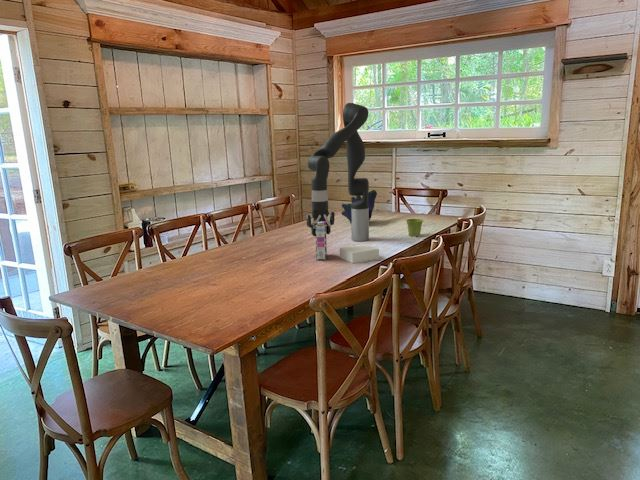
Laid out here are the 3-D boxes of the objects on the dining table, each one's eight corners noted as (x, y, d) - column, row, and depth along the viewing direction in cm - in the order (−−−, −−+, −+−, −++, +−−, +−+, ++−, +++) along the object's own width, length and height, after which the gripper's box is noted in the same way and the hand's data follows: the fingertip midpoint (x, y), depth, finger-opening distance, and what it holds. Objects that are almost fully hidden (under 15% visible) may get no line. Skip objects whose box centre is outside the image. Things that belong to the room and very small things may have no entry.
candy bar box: (327, 260, 217) (325, 225, 214) (316, 260, 218) (314, 225, 214) (327, 254, 228) (326, 220, 225) (317, 254, 229) (315, 221, 225)
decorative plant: (349, 240, 297) (347, 219, 324) (387, 224, 292) (382, 204, 318) (335, 213, 288) (334, 194, 315) (374, 196, 283) (370, 178, 309)
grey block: (339, 258, 222) (339, 247, 220) (365, 254, 227) (365, 243, 226) (352, 264, 211) (352, 253, 210) (379, 259, 217) (378, 248, 216)
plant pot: (424, 234, 264) (425, 218, 262) (420, 237, 256) (421, 222, 254) (408, 233, 268) (408, 218, 266) (404, 236, 260) (404, 221, 258)
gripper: (330, 197, 223) (331, 231, 227) (302, 200, 217) (303, 235, 221) (337, 199, 217) (338, 234, 220) (308, 202, 211) (310, 238, 214)
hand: (321, 235), depth 221 cm, fingers closed on candy bar box, 6 cm apart
